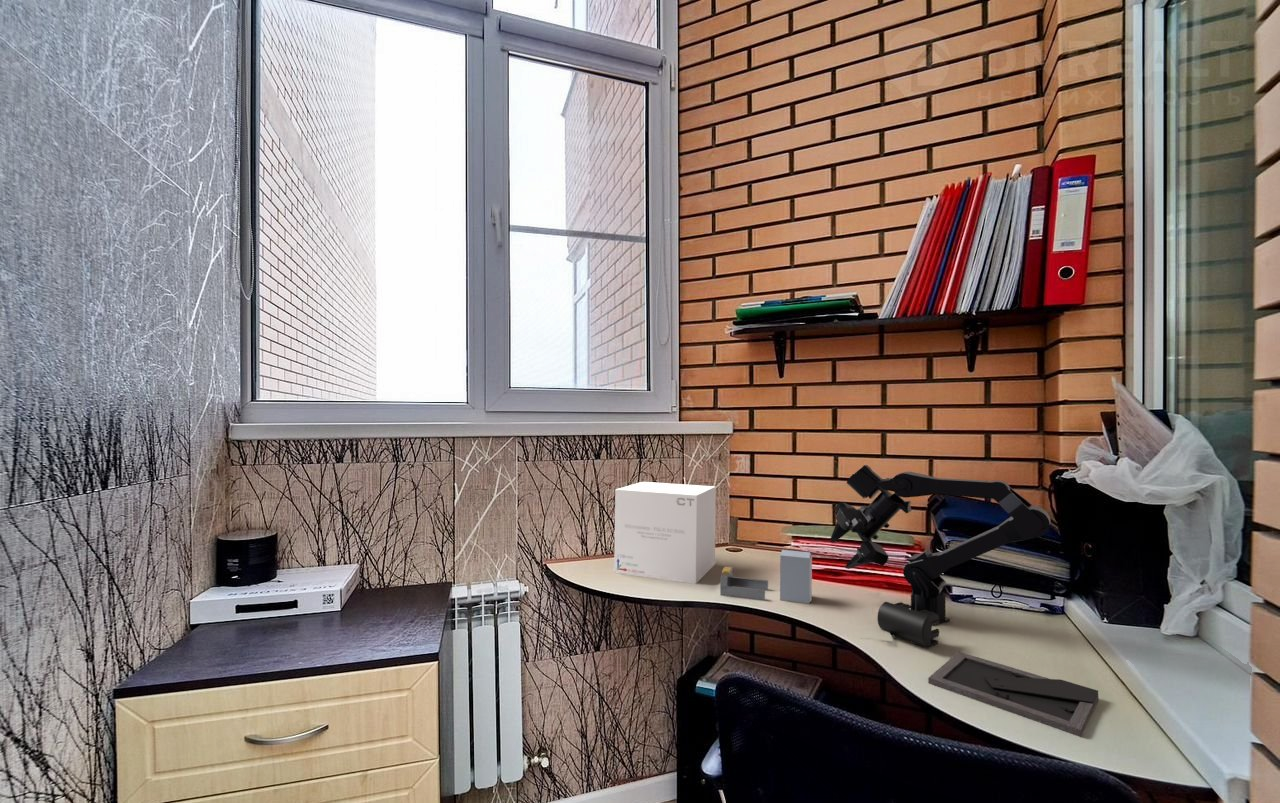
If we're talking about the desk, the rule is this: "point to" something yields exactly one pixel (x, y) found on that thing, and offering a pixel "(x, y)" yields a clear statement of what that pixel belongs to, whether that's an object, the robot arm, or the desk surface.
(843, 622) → the desk surface
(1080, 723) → the picture frame
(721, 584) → the rack deck
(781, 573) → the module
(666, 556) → the cube
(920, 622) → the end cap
